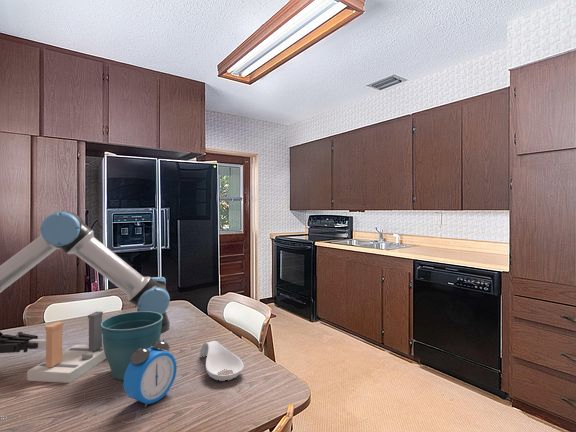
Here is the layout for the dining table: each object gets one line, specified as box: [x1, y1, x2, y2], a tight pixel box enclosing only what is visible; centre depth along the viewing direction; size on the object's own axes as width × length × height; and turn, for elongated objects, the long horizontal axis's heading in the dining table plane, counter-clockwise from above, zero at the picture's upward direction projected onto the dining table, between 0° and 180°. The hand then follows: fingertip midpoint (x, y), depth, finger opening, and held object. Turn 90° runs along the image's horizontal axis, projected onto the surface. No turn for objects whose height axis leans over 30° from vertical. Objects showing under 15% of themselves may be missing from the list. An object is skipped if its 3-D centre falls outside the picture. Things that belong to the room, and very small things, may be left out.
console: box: [26, 344, 107, 384], centre depth 108 cm, size 14×20×4 cm
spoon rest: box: [199, 340, 245, 382], centre depth 107 cm, size 24×12×7 cm, turn 34°
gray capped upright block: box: [87, 311, 104, 351], centre depth 113 cm, size 2×4×12 cm, turn 175°
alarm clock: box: [122, 339, 177, 408], centre depth 89 cm, size 13×6×15 cm, turn 152°
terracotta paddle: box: [44, 321, 64, 367], centre depth 102 cm, size 2×4×12 cm, turn 175°
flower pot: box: [101, 311, 163, 381], centre depth 104 cm, size 18×18×17 cm
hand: (49, 344), depth 102 cm, fingers closed
